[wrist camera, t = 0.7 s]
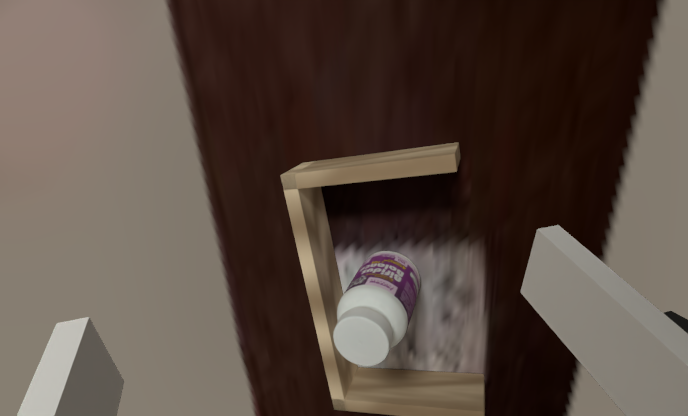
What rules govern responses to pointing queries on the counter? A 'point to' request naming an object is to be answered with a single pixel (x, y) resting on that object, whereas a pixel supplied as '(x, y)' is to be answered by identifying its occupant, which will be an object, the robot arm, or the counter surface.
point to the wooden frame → (325, 292)
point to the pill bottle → (376, 308)
